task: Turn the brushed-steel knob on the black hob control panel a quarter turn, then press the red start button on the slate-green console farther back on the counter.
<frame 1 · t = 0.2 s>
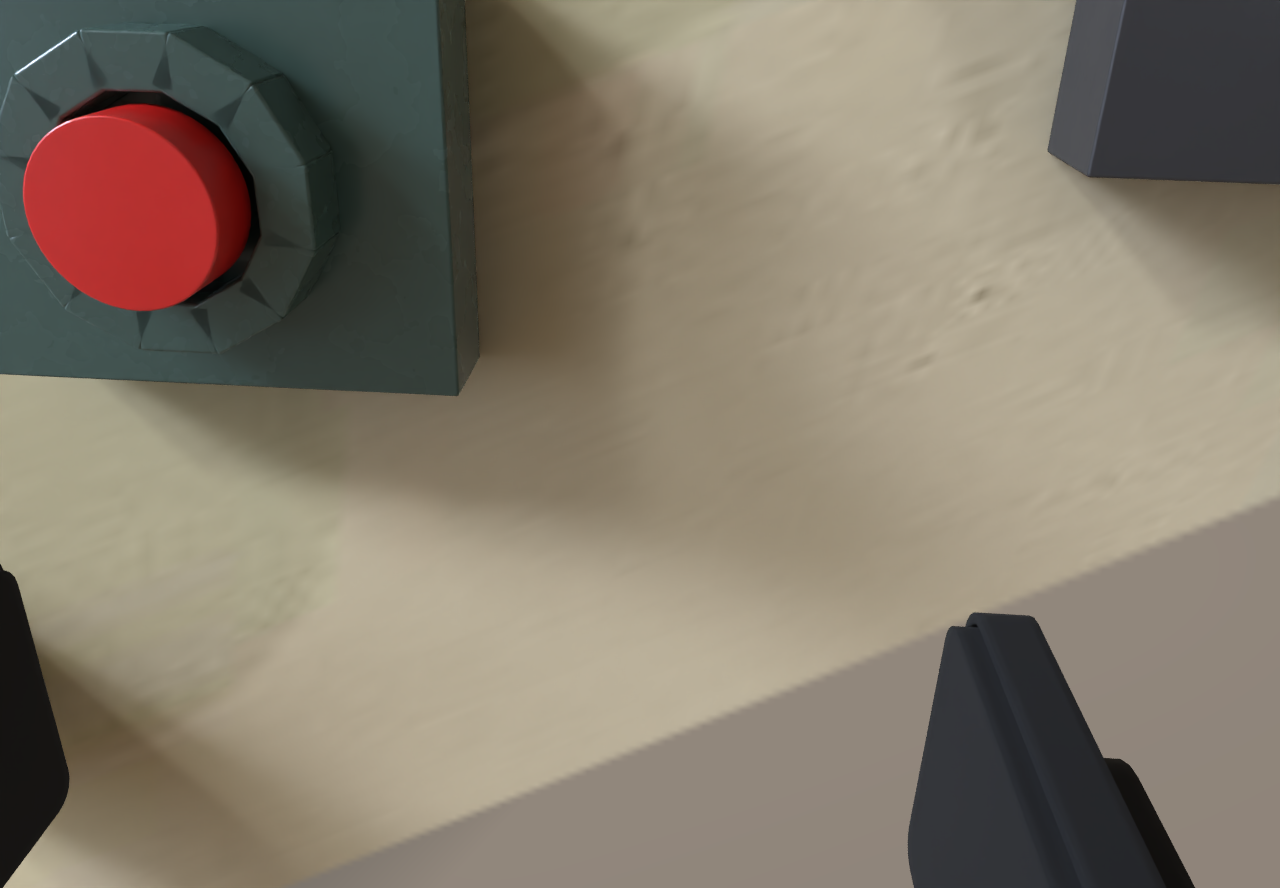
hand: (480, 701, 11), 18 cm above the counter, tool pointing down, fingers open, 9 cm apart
start button: (141, 207, 22), point 5 cm above the counter, slide at 0.1 cm
console: (237, 162, 26), on the counter
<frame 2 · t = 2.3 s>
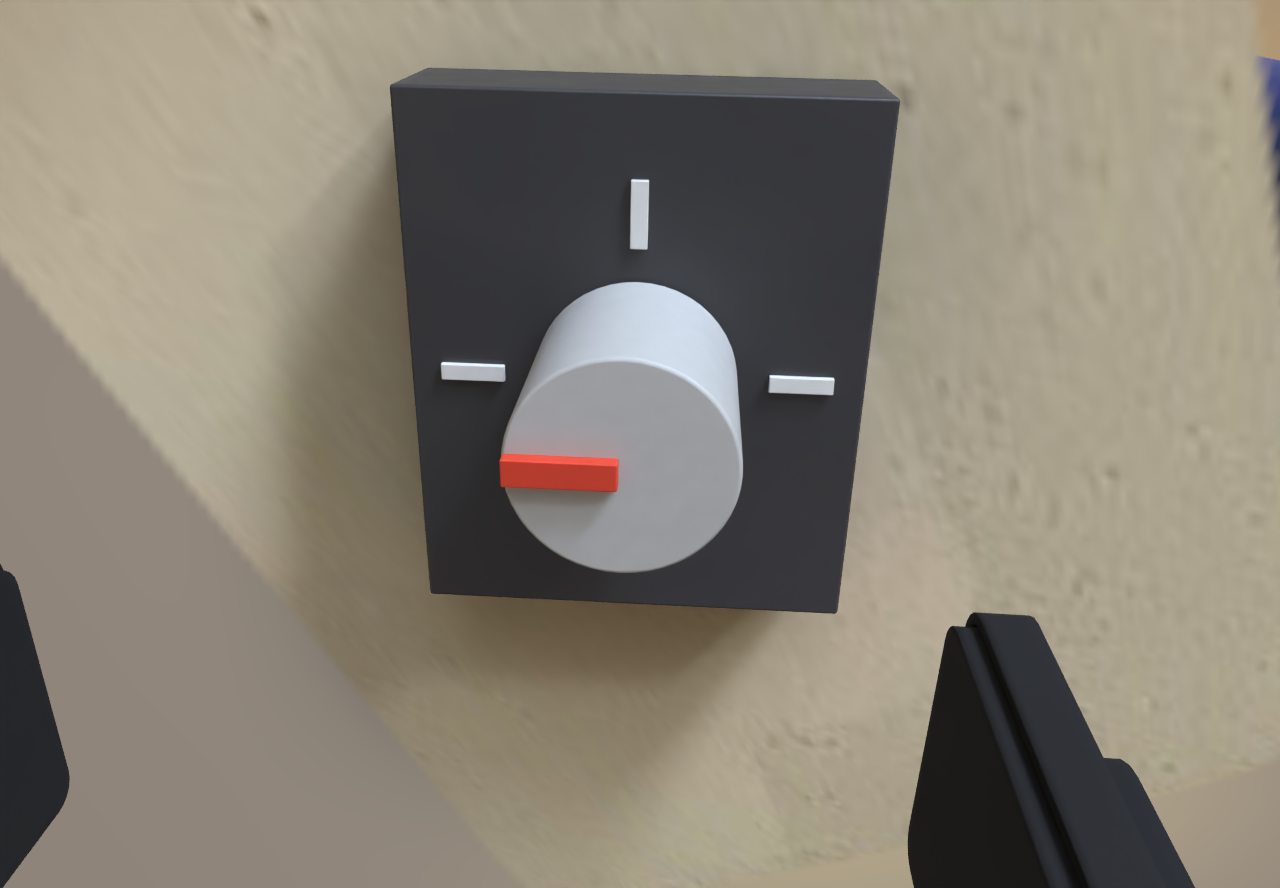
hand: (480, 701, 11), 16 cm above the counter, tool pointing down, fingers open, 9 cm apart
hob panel: (643, 331, 26), on the counter
hob knob: (628, 423, 21), point 5 cm above the counter, hinge at 0.0°
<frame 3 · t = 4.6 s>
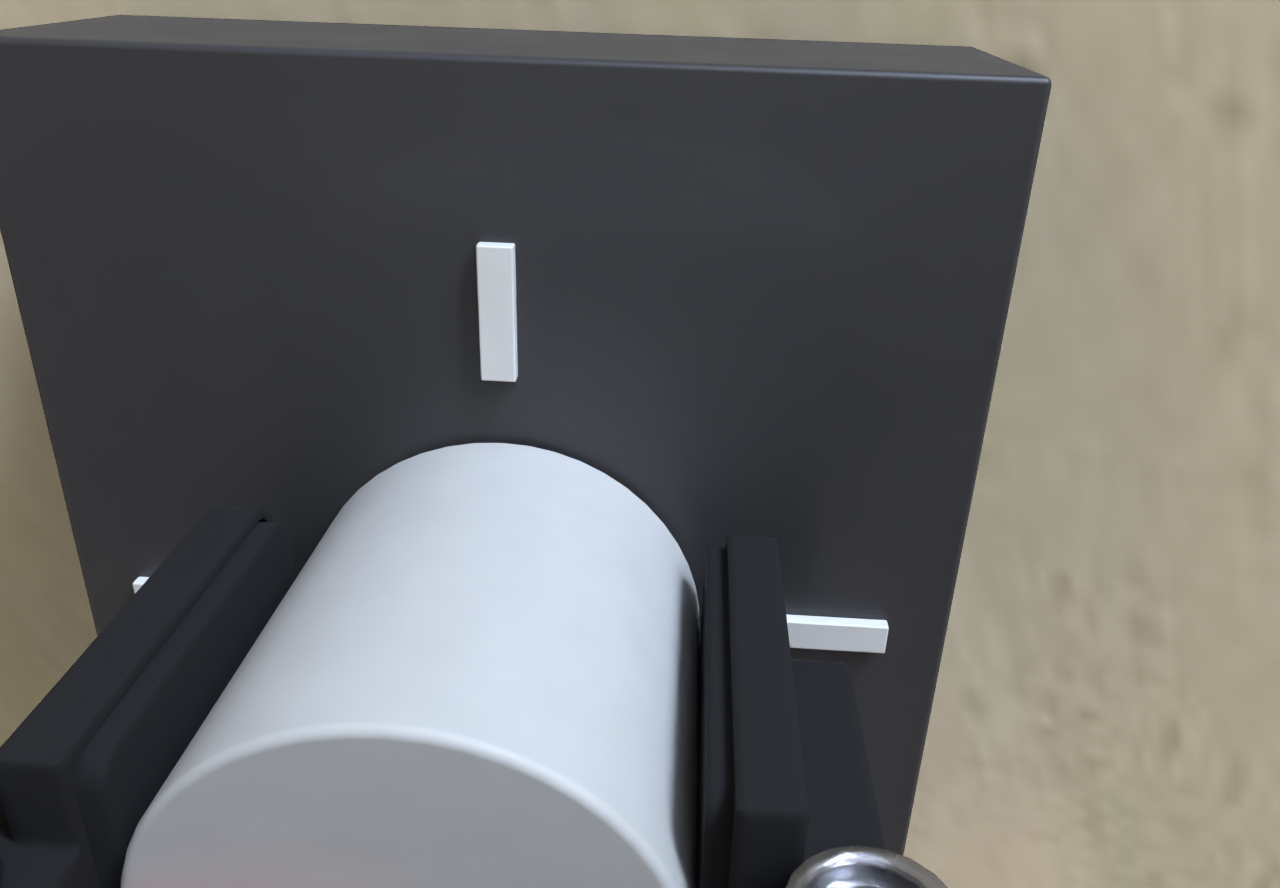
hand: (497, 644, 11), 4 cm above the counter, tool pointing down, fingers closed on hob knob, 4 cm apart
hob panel: (544, 487, 15), on the counter
hob knob: (463, 761, 10), point 5 cm above the counter, hinge at 0.0°, touching gripper
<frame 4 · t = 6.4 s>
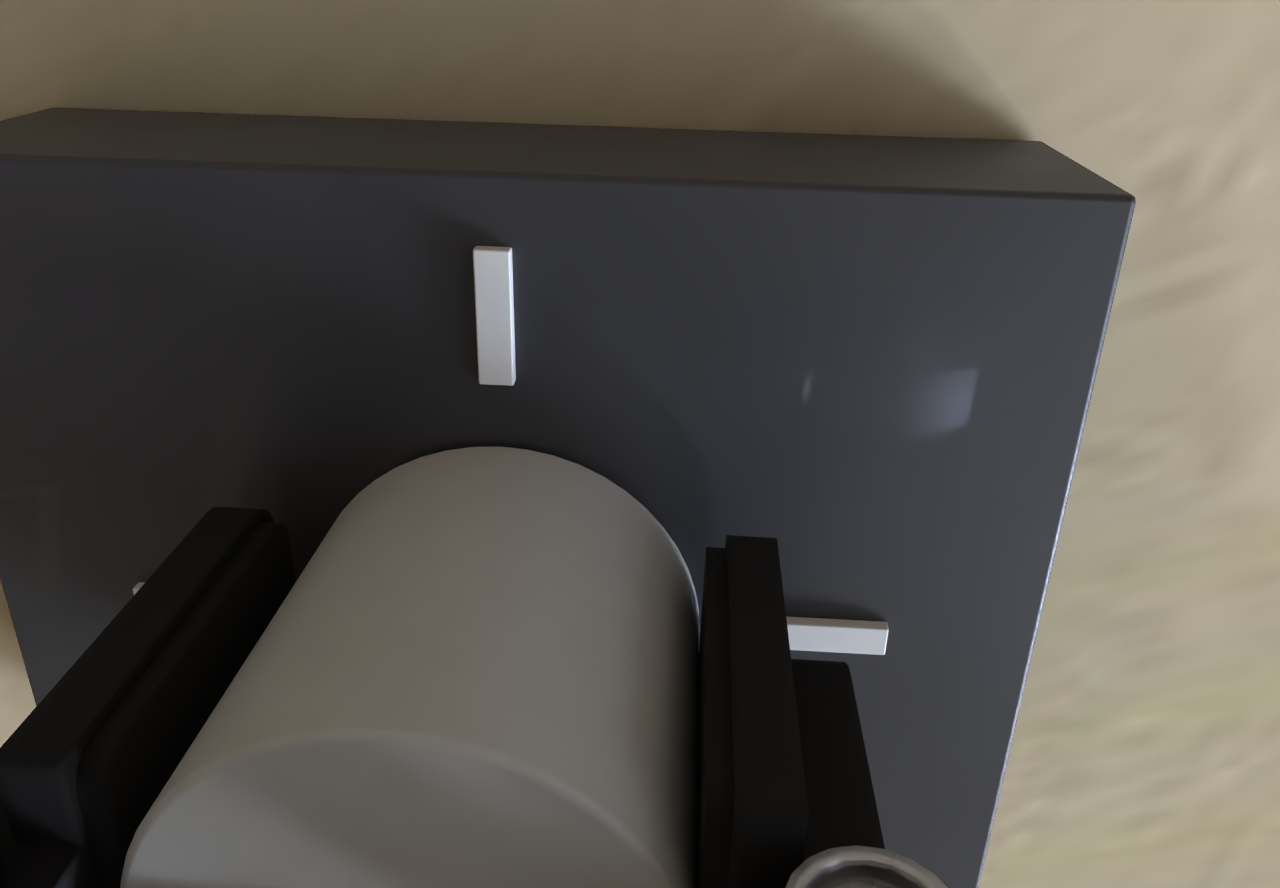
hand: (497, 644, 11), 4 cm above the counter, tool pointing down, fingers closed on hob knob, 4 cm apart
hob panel: (544, 490, 15), on the counter
hob knob: (462, 765, 10), point 5 cm above the counter, hinge at 90.0°, touching gripper
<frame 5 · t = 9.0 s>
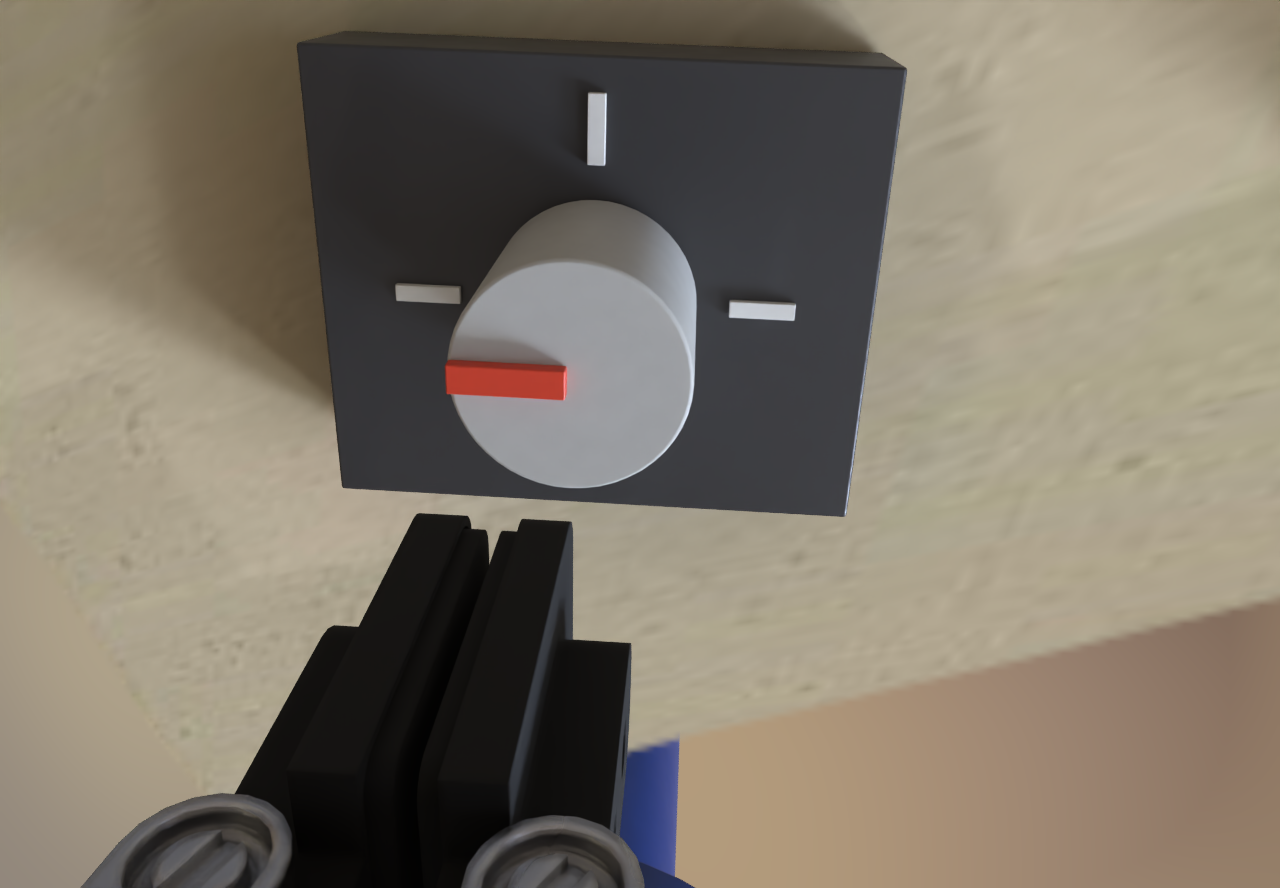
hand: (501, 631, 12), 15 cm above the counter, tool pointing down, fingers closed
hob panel: (606, 262, 25), on the counter
hob knob: (582, 339, 20), point 5 cm above the counter, hinge at 89.9°
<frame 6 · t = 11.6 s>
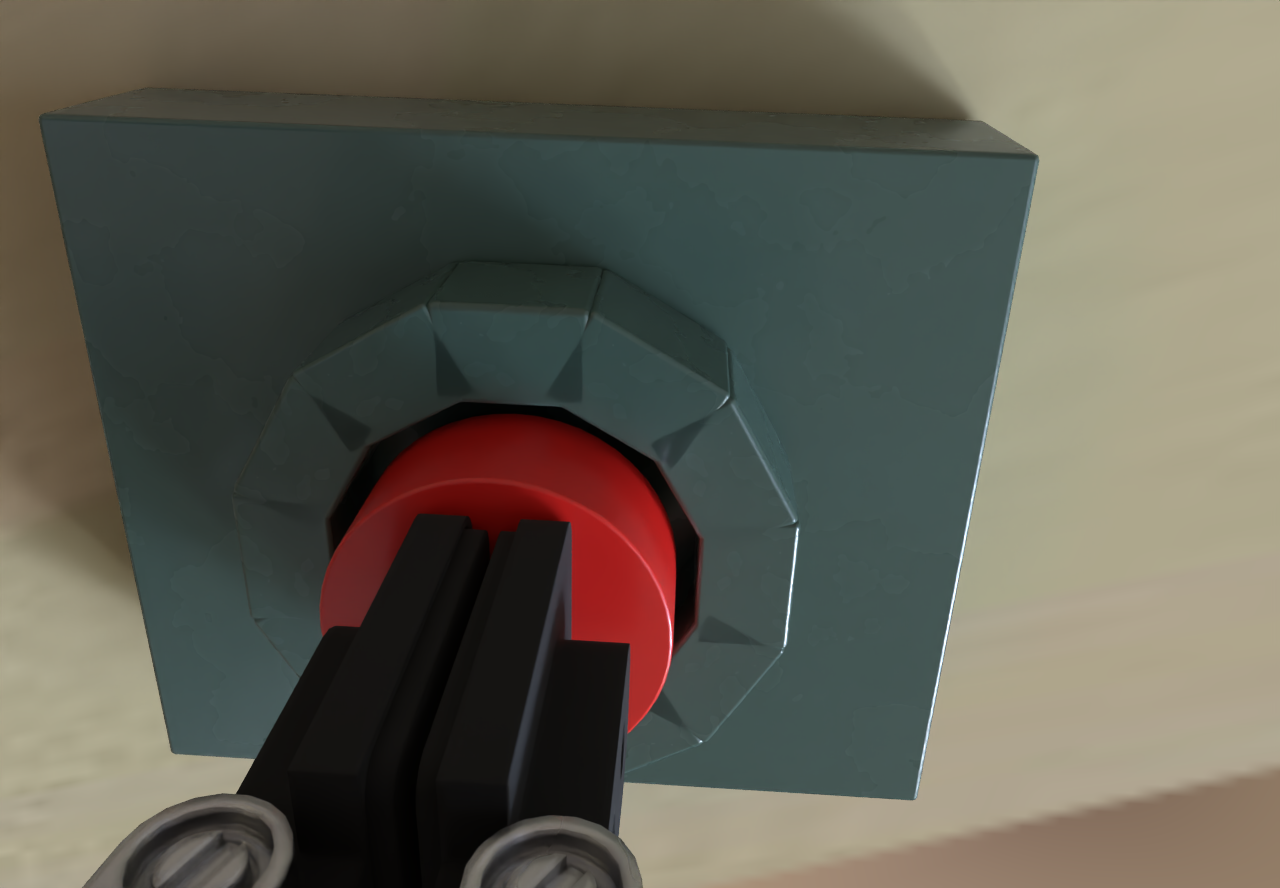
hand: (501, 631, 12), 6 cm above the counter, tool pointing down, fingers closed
start button: (507, 594, 12), point 5 cm above the counter, slide at 0.1 cm, touching gripper
console: (559, 424, 17), on the counter
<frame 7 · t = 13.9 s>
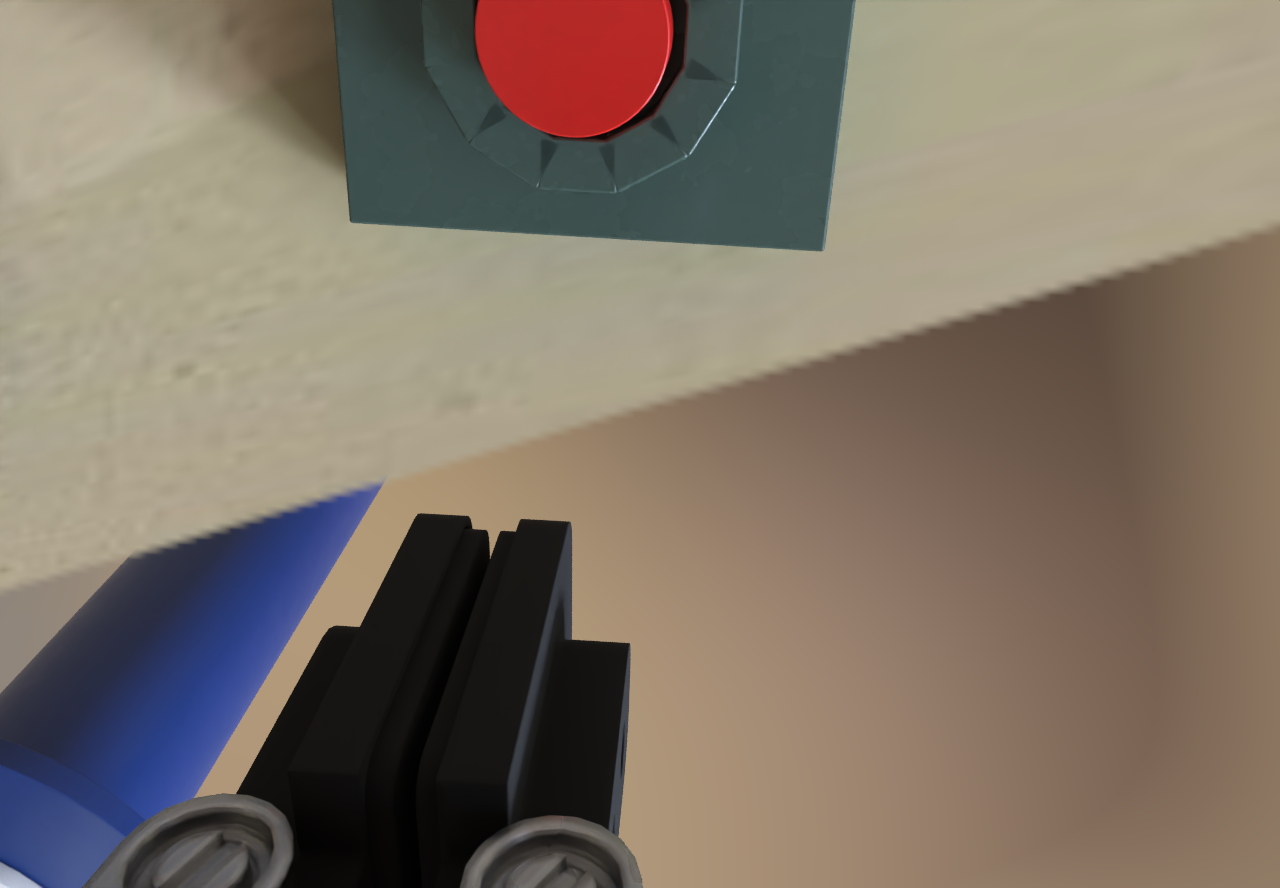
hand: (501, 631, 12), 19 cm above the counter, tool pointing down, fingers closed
start button: (576, 32, 22), point 5 cm above the counter, slide at 0.1 cm
console: (600, 15, 26), on the counter
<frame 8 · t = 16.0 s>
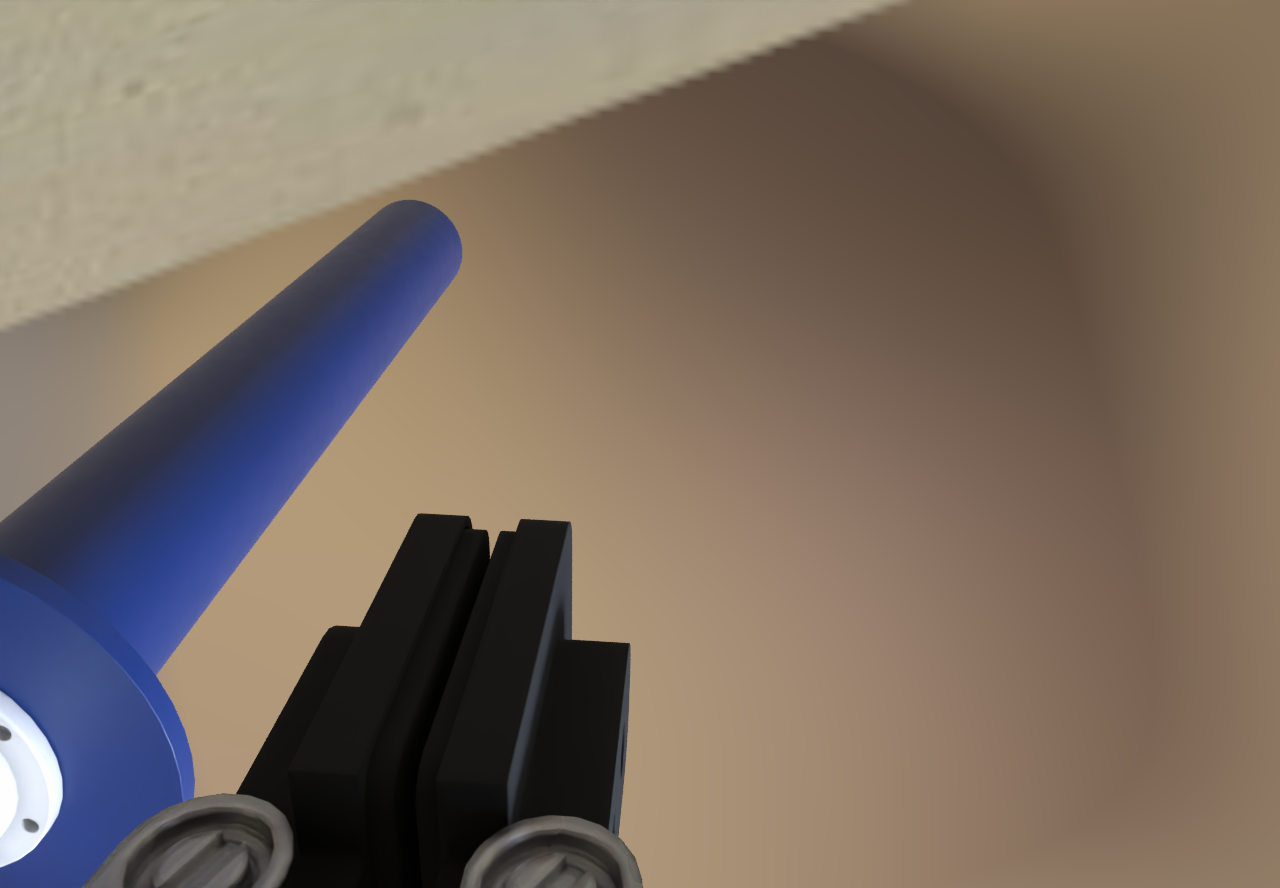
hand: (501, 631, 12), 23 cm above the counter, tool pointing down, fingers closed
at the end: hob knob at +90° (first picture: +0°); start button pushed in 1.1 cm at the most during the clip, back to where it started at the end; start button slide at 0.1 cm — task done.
